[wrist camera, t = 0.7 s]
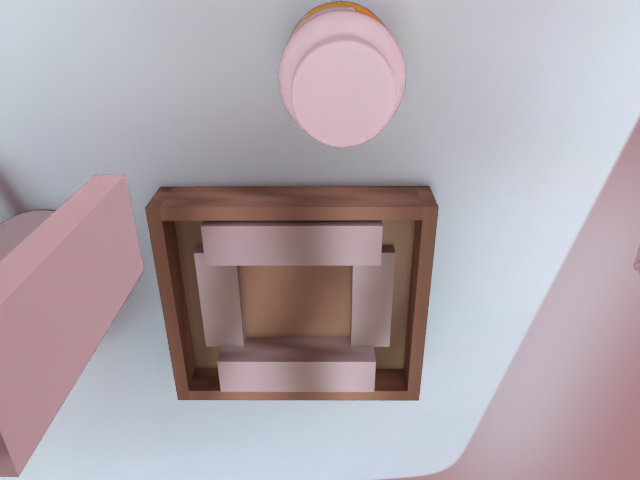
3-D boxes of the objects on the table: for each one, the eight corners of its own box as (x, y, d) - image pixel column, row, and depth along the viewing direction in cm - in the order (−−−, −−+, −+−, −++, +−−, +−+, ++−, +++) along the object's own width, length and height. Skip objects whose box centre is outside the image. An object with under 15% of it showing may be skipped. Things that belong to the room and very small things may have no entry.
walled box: (188, 369, 39) (176, 403, 36) (160, 186, 32) (143, 209, 29) (412, 369, 39) (419, 403, 36) (429, 186, 32) (439, 209, 29)
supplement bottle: (398, 92, 30) (428, 147, 21) (303, 116, 30) (294, 179, 22) (378, -14, 27) (402, 0, 19) (275, 16, 28) (252, 41, 19)
